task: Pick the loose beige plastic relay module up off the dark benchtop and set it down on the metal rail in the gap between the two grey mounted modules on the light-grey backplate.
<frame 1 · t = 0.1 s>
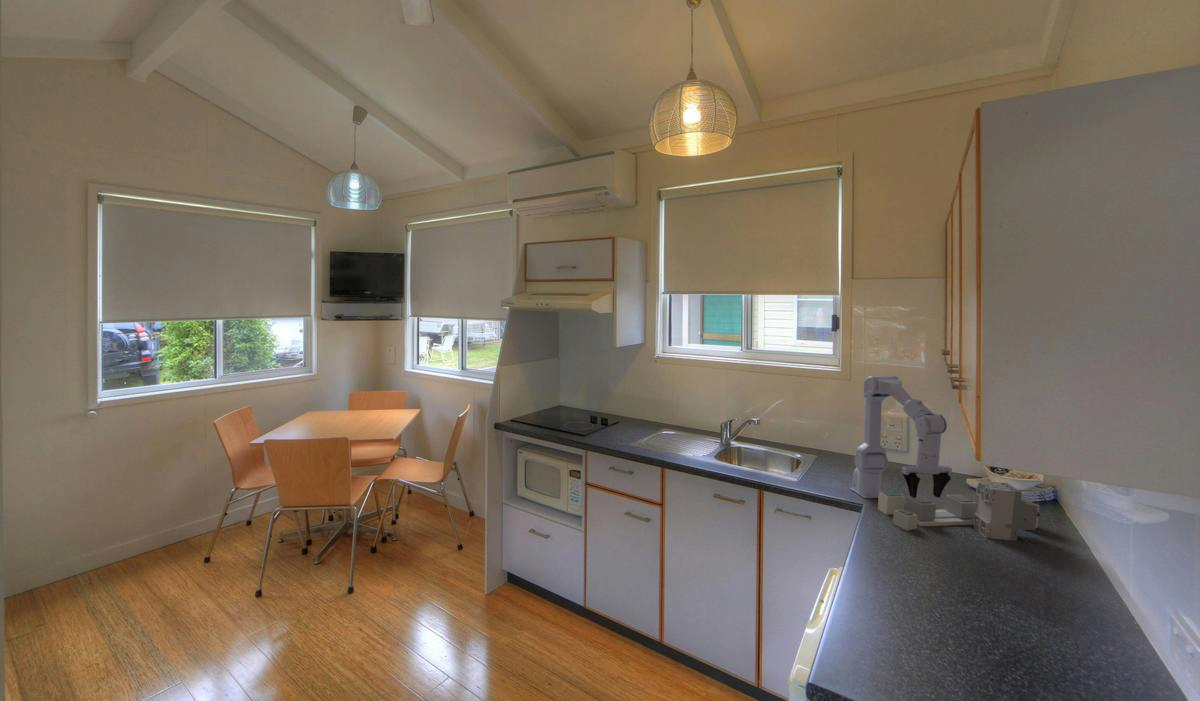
hand: (924, 496, 161), 10 cm above the countertop, fingers open, 7 cm apart
circuit breaker: (1005, 535, 158), on the countertop
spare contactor: (904, 526, 163), on the countertop
rail board: (939, 519, 169), on the countertop
relay module: (890, 511, 174), on the countertop
skincare box: (1020, 525, 165), on the countertop
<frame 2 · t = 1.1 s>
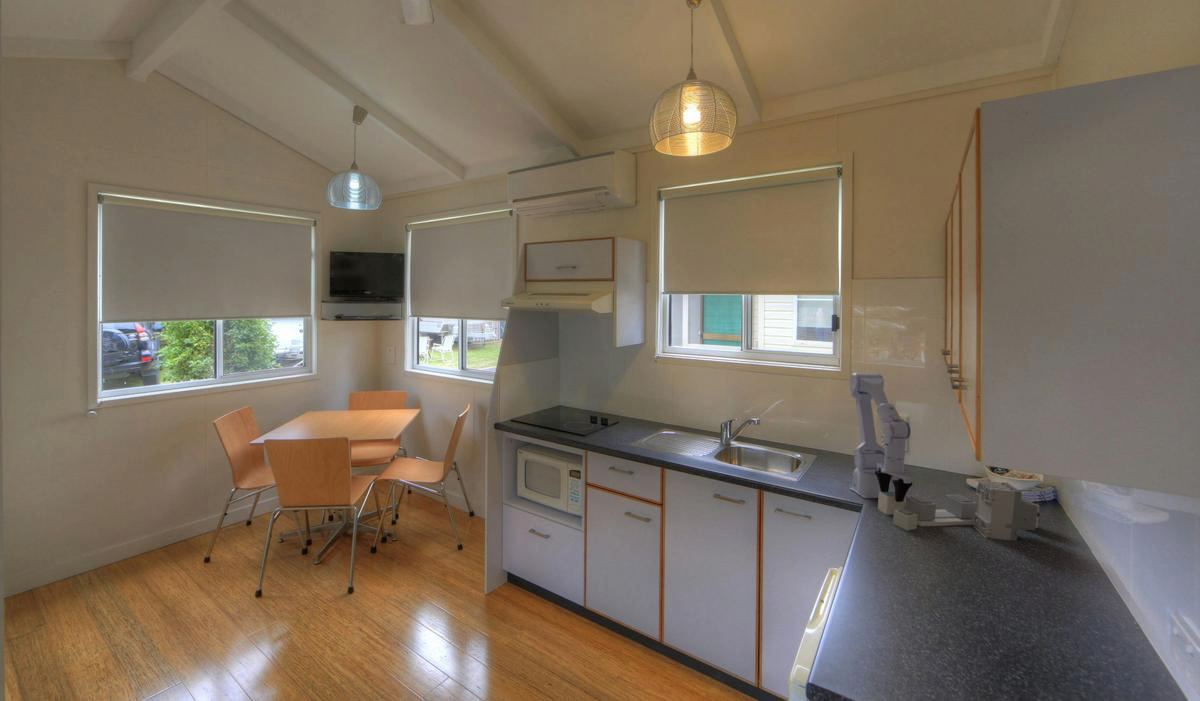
hand: (891, 497, 174), 5 cm above the countertop, fingers open, 7 cm apart
nothing on the countertop moved.
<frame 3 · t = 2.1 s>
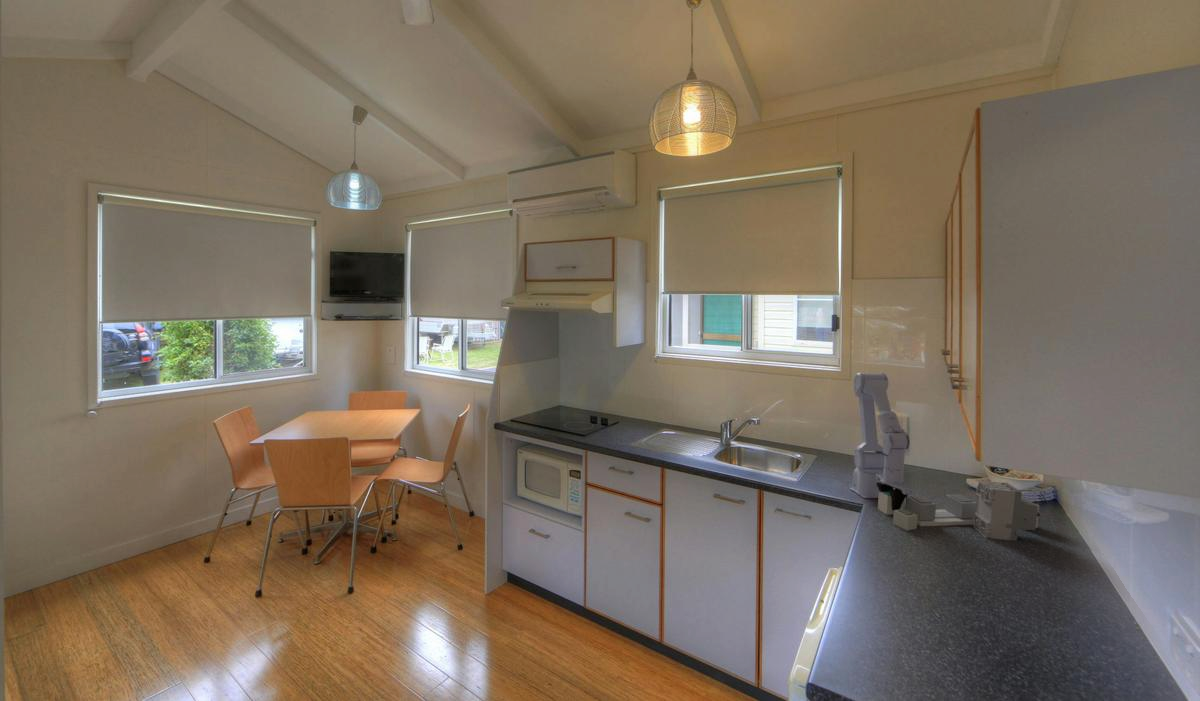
hand: (890, 507, 174), 1 cm above the countertop, fingers closed on relay module, 4 cm apart
relay module: (890, 511, 174), on the countertop, touching gripper
everything else where it was.
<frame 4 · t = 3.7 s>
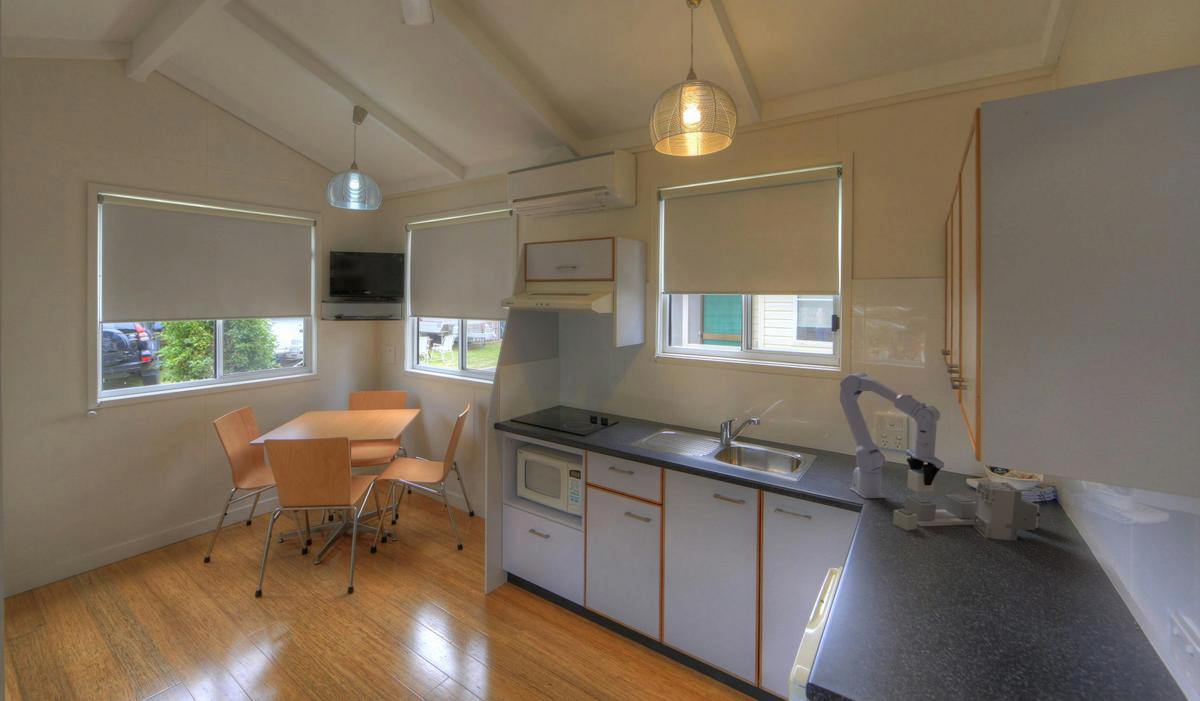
hand: (922, 482, 175), 9 cm above the countertop, fingers closed on relay module, 4 cm apart
relay module: (920, 488, 176), point 7 cm above the countertop, touching gripper
everything else where it was.
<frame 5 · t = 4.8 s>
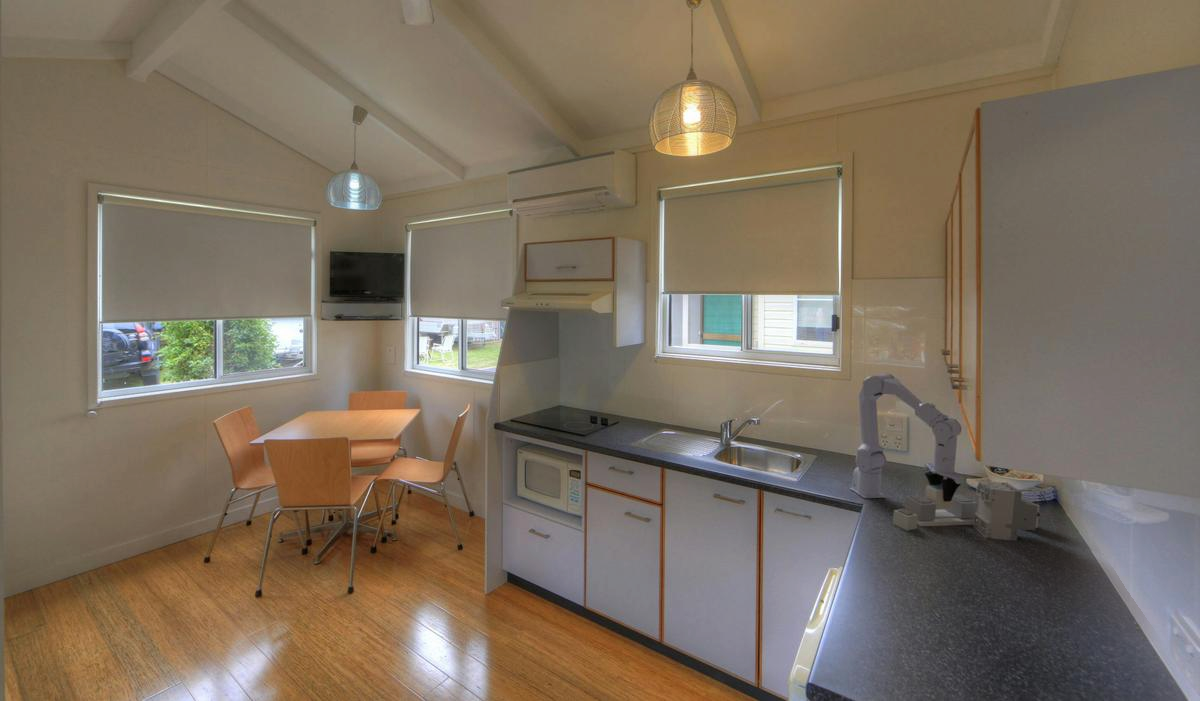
hand: (941, 498, 168), 7 cm above the countertop, fingers closed on relay module, 4 cm apart
relay module: (939, 505, 168), point 5 cm above the countertop, touching gripper
everything else where it was.
when the fingers open (5 cm above the countertop, at t = 5.7 s): relay module stays where it is, resting on rail board.
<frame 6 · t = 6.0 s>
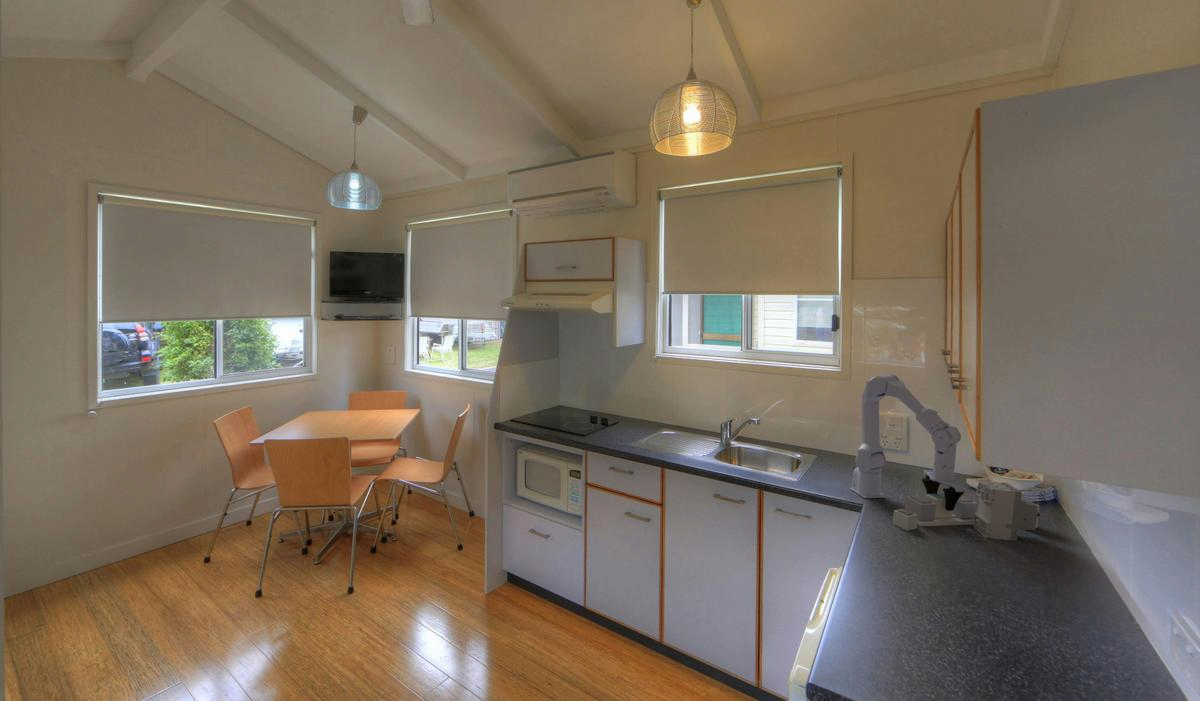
hand: (940, 505, 168), 5 cm above the countertop, fingers open, 7 cm apart
relay module: (938, 514, 169), point 2 cm above the countertop, touching rail board
everything else where it was.
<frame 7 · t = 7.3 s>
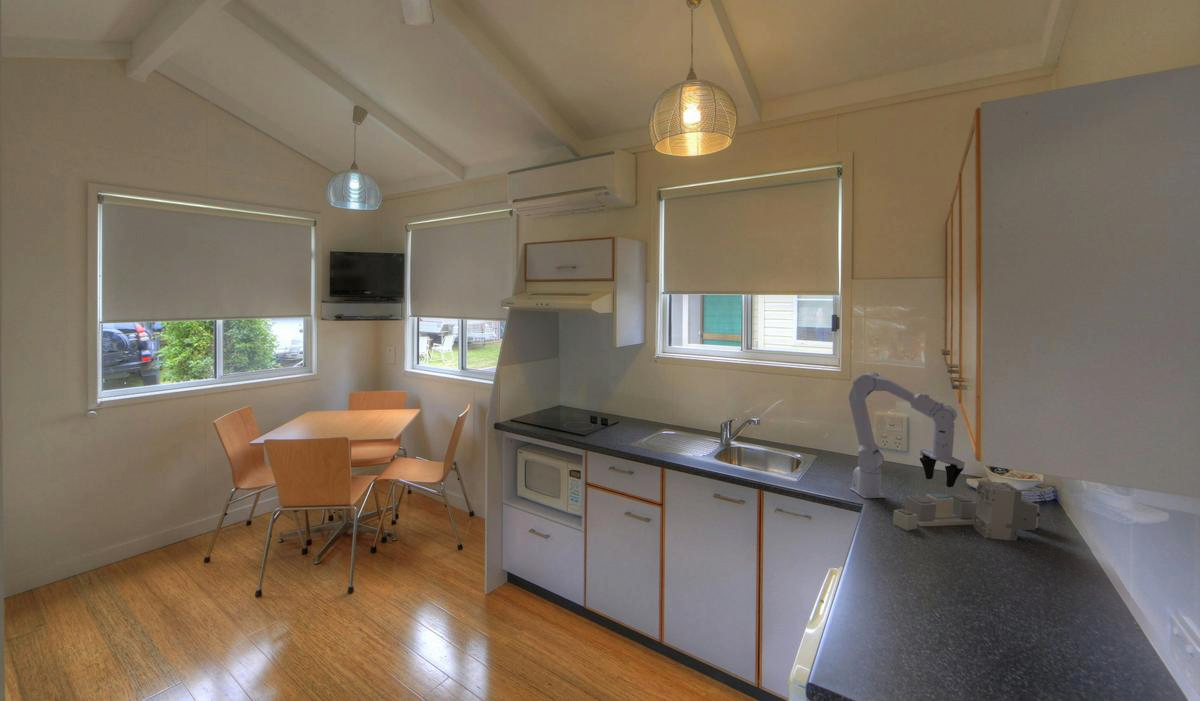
hand: (939, 482, 174), 10 cm above the countertop, fingers open, 7 cm apart
nothing on the countertop moved.
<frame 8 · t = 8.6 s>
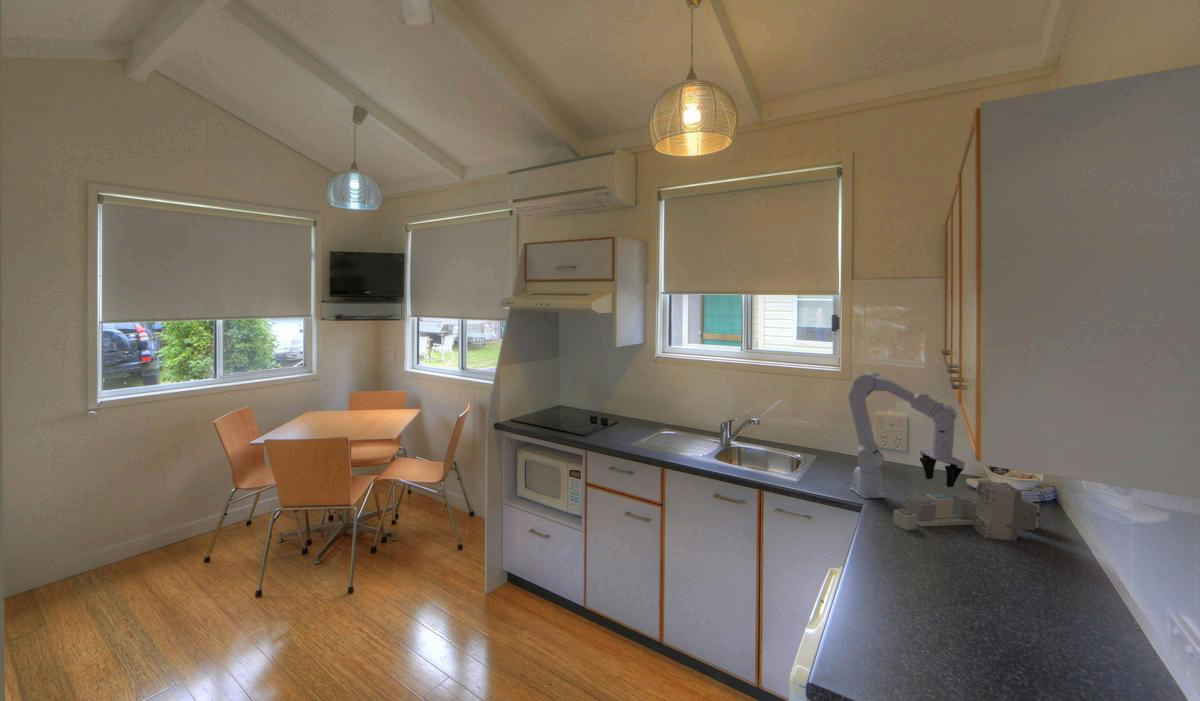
hand: (939, 482, 174), 10 cm above the countertop, fingers open, 7 cm apart
nothing on the countertop moved.
at the end: relay module 0.5 cm off-centre on the rail board, point 1.6 cm above the rail board's base; relay module tilted 0°; the gripper is holding nothing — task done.
